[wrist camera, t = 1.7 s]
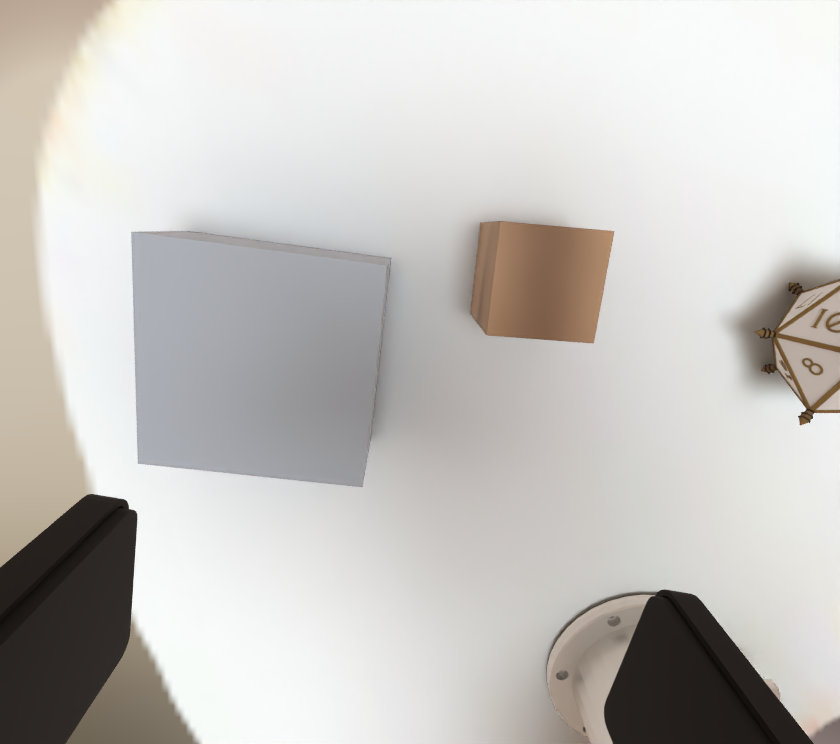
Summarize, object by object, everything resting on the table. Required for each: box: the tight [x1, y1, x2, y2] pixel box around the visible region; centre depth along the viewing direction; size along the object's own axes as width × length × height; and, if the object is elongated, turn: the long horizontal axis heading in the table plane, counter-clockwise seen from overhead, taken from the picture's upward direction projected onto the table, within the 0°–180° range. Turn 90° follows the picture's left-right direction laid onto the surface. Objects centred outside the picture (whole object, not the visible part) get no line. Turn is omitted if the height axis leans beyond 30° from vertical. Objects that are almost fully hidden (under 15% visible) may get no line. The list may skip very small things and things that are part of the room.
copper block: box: [470, 221, 614, 343], centre depth 25 cm, size 5×5×6 cm
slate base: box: [131, 231, 391, 487], centre depth 26 cm, size 11×11×6 cm
